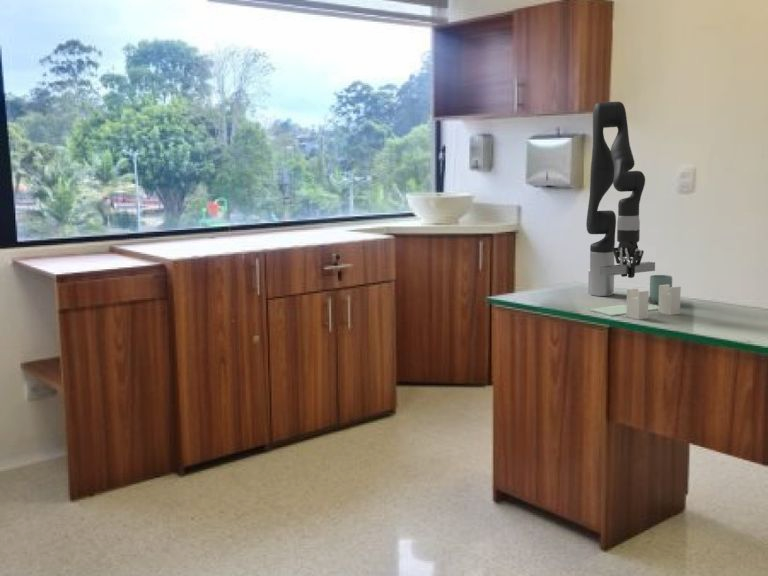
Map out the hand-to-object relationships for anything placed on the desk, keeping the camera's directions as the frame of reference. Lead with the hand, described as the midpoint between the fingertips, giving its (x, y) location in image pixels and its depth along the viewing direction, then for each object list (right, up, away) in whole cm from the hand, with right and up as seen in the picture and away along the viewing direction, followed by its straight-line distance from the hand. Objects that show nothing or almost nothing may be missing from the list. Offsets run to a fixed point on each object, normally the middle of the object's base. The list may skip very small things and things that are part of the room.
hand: (627, 276), depth 273 cm
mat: (+1, -12, +2) cm, 12 cm away
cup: (+16, -10, +12) cm, 22 cm away
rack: (+6, -13, -8) cm, 17 cm away
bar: (0, +1, 0) cm, 1 cm away
